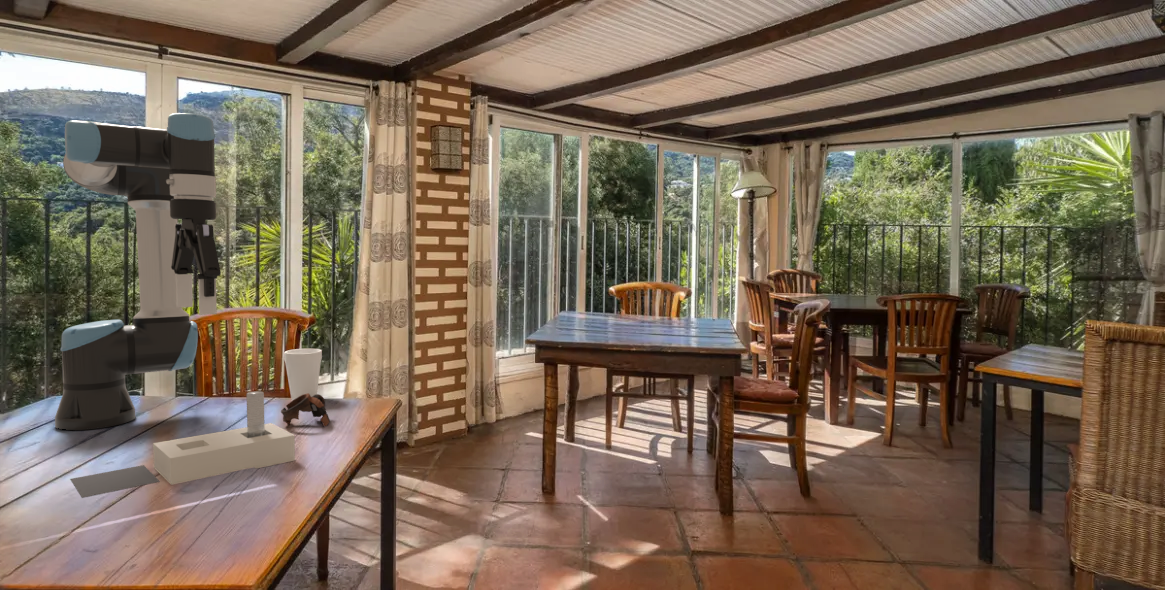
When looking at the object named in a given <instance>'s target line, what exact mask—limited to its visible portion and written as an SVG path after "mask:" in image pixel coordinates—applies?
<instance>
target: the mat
mask: <svg viewBox="0 0 1165 590" xmlns="http://www.w3.org/2000/svg"><path fill="white" fill-rule="evenodd" d="M69 480H70V481H71V483H72V484H73V486H74V487H75V489H76V491H77V492H78V494H79V496H80V497H81V499H85V498H89V497H92V496H98V495H103V494H107V493H113V492H117V491H122V490H127V489H131V488H136V487H142V486H145V485H151V484H155V483H156V484H157V483H160V482H161V481H160V480H159V479H158V478H157V477H156V476H155V474H153V473H152V471H150V470H149V468H148V467H147V466H146V465H145V464H142V465H137V466H131V467H126V468H119V469H117V470H116V469H115V470H110V471H105V472H100V473H95V474H89V475H83V476H78V477H74V478H70V479H69Z"/></svg>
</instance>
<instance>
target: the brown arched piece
mask: <svg viewBox="0 0 1165 590" xmlns="http://www.w3.org/2000/svg"><path fill="white" fill-rule="evenodd" d="M300 412H303V413H305V412H307V413H310V412H311V414H312V418H320V422H321V423H322V427H324V426H325V427H326V426H328V425H329V423H330V421H331V419H330V417H329V414H328V412H327V409H326V401H325V398H324V397H323V395H321V394H318V393H317V394H316V395H314V396H312V397H311V396H310V394H309V393H307V394H304V395H301V396H299V397H298V398H296V399H294V400H291V401H290V402H288V403H287V405H286V406H285V407H283V408H282V409H281V411H280V413H281V414H282V422H284V423H286V424H287V425H290V424H291V422H292V420H294V419H295V420H300V418H299V416H300ZM321 416H322V417H321Z"/></svg>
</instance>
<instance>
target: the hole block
mask: <svg viewBox="0 0 1165 590" xmlns="http://www.w3.org/2000/svg"><path fill="white" fill-rule="evenodd" d="M264 425H265V435H263V436H258V437H252V438H248V432H247V426H246V427H240V428H235V429H229V430H223V431H217V432H211V433H205V434H200V435H199V434H198V435H194V436H188V437H182V438H177V439H171V440H165V441H158V442H153V443H152V452H153V453H152V454H153V469H155V471H157V473H159V474H160V476H162V478H163V479H165V480H166V482H168V483H169V484H170V485H171V486H172V485H177V484H181V483H186V482H190V481H191V482H192V481H196V480H200V479H204V478H205V479H206V478H211V477H215V476H219V475H220V476H221V475H224V474H228V473H235V472H239V471H242V470H243V471H244V470H248V469H253V468H254V469H261V468H265V467H266V468H267V467H271V466H275V465H280V464H284V463H290V462H294V461H296V451H295V450H296V448H295V447H296V446H295V434H293V433H291V432H289V431H287V430H286V429H284V428H282V427H280V426H278V425H276V424H274V423H272V422H269V423H264Z"/></svg>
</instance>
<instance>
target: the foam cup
mask: <svg viewBox="0 0 1165 590" xmlns="http://www.w3.org/2000/svg"><path fill="white" fill-rule="evenodd" d="M322 351H323V349H320V348H296V349H295V348H294V349H289V350H286V351H284V353H283V359H284V360H283V361H284V362H285V369H286V375H287V380H288V387H289V393H290V398H291V401H293V400H294V399H296V398H298V397H299V396H301V395H304V394H307V393H309V394H310V396H311V397H312V396H314V395H316V394H318V389H319V379H320V370H321V363H322V362H321V361H322V359H323V358H322V357H323V355H322V354H323V353H322Z"/></svg>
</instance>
